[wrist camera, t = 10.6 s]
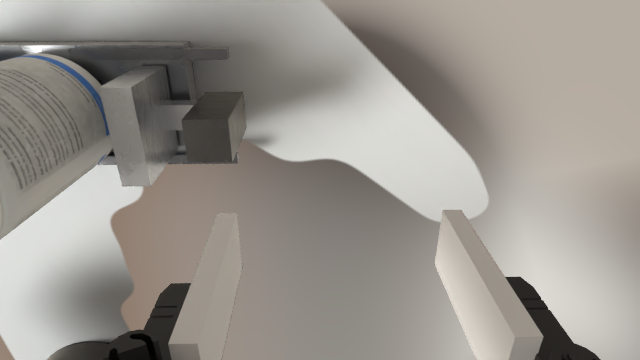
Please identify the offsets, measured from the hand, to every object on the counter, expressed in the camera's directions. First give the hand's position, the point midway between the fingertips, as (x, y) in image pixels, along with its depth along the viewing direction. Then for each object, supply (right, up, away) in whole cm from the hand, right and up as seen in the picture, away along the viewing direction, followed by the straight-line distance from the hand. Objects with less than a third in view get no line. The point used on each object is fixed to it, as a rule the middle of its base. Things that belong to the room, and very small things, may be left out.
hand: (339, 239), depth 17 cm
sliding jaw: (-11, +8, +17) cm, 22 cm away
